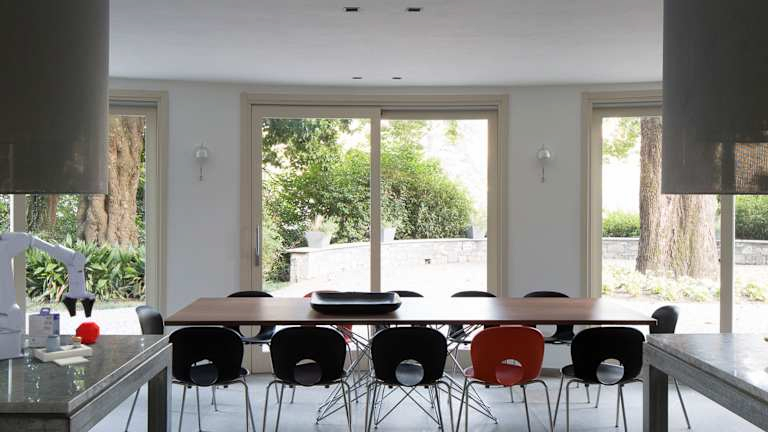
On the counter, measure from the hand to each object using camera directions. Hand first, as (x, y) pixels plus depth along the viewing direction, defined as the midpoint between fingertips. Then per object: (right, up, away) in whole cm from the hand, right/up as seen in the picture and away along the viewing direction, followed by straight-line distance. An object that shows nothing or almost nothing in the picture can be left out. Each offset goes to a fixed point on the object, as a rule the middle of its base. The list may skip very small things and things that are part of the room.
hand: (80, 316), depth 279 cm
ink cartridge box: (-12, -11, -5) cm, 17 cm away
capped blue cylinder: (+1, -11, -26) cm, 28 cm away
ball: (+2, -11, +2) cm, 11 cm away
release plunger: (+7, -9, -20) cm, 23 cm away
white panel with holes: (+4, -11, -23) cm, 26 cm away
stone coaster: (+10, -11, -33) cm, 36 cm away
